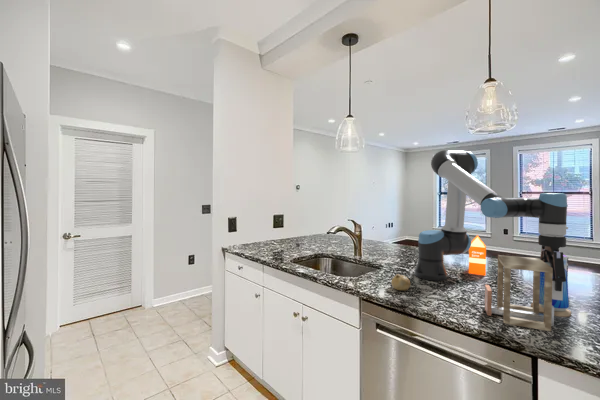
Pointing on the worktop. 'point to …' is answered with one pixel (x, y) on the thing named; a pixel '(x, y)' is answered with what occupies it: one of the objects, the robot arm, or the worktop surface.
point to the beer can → (557, 304)
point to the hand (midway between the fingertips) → (550, 293)
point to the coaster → (556, 312)
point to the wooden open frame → (536, 267)
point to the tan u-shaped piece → (513, 312)
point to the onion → (400, 282)
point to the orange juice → (477, 257)
